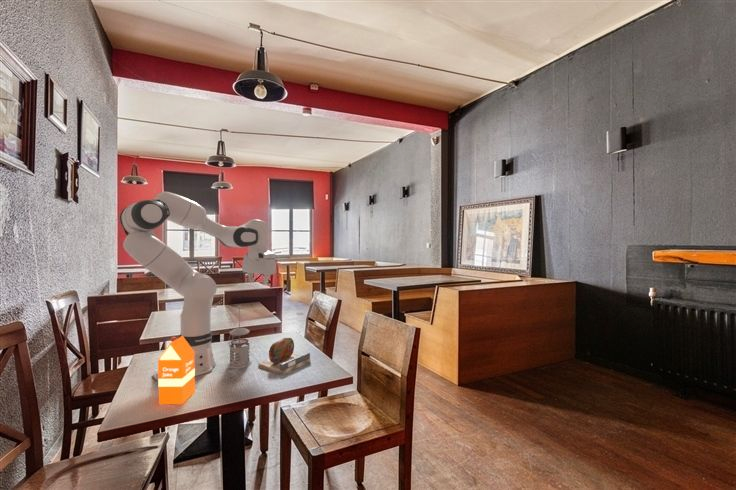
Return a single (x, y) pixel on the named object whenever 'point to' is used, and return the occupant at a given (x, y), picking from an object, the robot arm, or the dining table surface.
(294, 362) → the price rail
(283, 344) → the oval plaque
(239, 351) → the french press
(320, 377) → the dining table surface
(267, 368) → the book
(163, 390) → the orange juice
